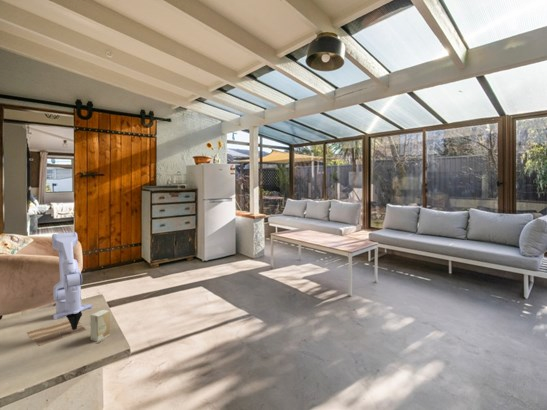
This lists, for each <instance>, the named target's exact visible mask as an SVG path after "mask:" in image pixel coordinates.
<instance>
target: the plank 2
mask: <svg viewBox="0 0 547 410" xmlns="http://www.w3.org/2000/svg"><path fill="white" fill-rule="evenodd" d="M84 331H87V329H86V328H85V327H84V326H83V325H79V326H77V329H75V330H72V328H69V329H66V330H63V331H60V332H59V333H60V334H61V335H62V336H63V337H64V338H67V337H70V336H72V335H76V334H79V333H82V332H84Z"/></svg>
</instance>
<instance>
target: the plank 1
mask: <svg viewBox="0 0 547 410" xmlns="http://www.w3.org/2000/svg"><path fill="white" fill-rule="evenodd" d="M64 338H65V337H64V336H63V335H62V334H61V333H60V332H57V333H54V334H50V335H47V336H44V337H41V338H38V339H35V340H34V342H36V344H37V345H38V347H41V346H44V345H46V344H50V343H52V342H55V341H58V340H61V339H64Z"/></svg>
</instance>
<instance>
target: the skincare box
mask: <svg viewBox="0 0 547 410" xmlns="http://www.w3.org/2000/svg"><path fill="white" fill-rule="evenodd" d="M110 312H111V311H110V310H108V309H107V310H106V309H100V310H99V311H96V312H94V313H91V314H90V340H91V341H94V342H96V344H100V343H102V342H103V341H105V340H106V339H105V338H107V337H108V336H110V335H111V334H110V333H111V332H110V325H111V324H110V322H111V321H110V319H111V318H110V316H111V315H110Z"/></svg>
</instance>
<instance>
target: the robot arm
mask: <svg viewBox="0 0 547 410" xmlns="http://www.w3.org/2000/svg"><path fill="white" fill-rule="evenodd" d="M78 240H79V238H78V233H77V232H76V231H73V232H64V233H52V235H51V242H52V244H51V245H52V249H53V250H57V252H58V263H59V267H58V268H59V269H58V270H59V281H58V282H57V283H56V284H54V286H53V290H52V295H53V301H54V302H56V303H55V313H53V315H52V316H53V317H52V318H53V320H57V319H60V318H61V319H65V318H67V320H69V322H70V324H71V327H72V330H75V329H77V325H78V322H80V319H81V318H82V316H83V313H82V312H84V311H88V310H93V307H94V306H93V304H92V303H89V304H83V305H82V287H81V285H83V275H82V272H81V270H80V269H79V264H78V263H79V262H78V260H77V259H74V257H75V256H74V247H77V244H78V242H79V241H78Z"/></svg>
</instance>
